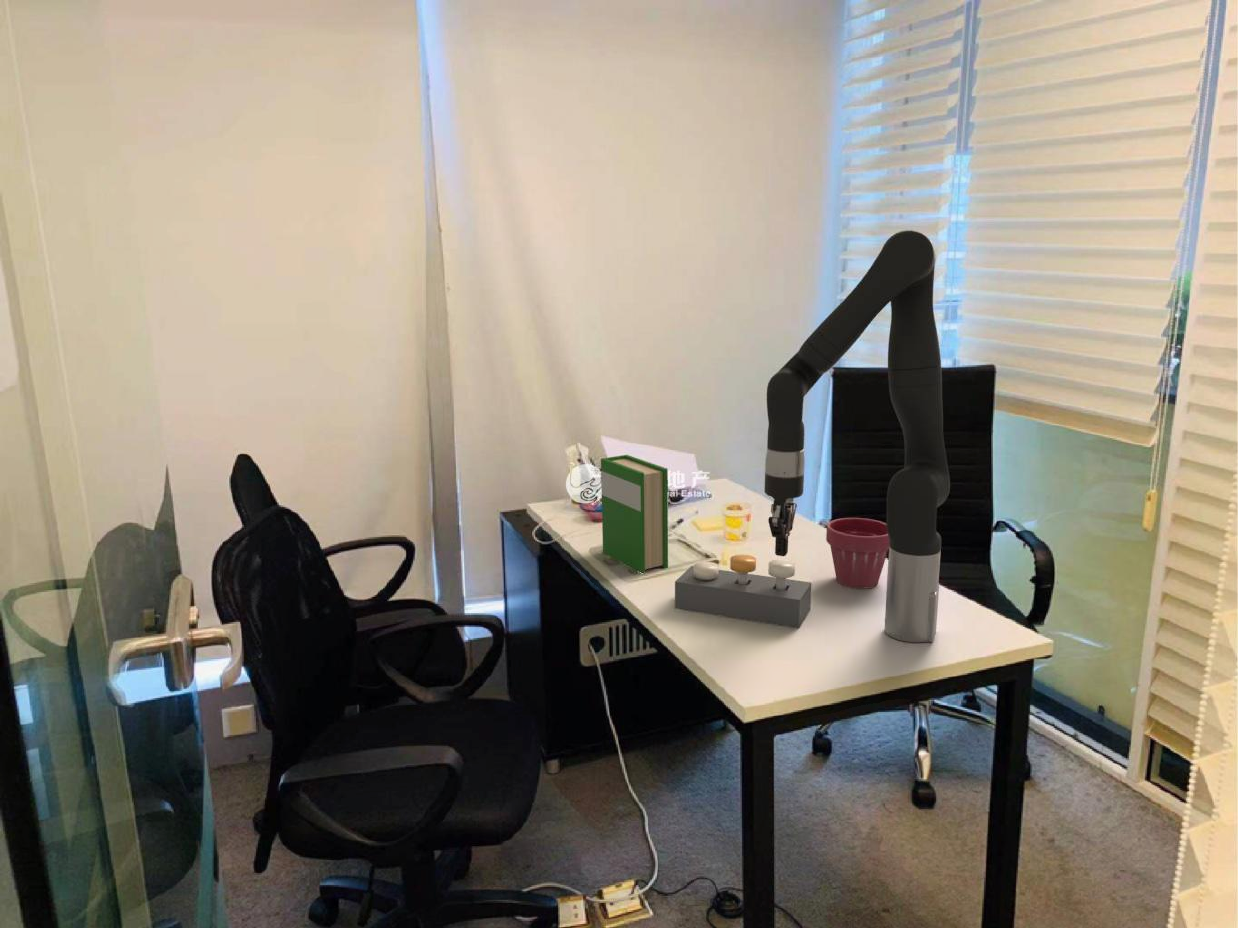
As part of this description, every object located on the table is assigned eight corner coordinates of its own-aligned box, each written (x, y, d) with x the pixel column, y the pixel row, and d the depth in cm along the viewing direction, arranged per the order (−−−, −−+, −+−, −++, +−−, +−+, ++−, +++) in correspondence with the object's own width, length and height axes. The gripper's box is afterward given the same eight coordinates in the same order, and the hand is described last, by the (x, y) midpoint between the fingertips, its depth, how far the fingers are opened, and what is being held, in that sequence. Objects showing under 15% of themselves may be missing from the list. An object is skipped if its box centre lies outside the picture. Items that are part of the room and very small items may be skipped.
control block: (810, 609, 181) (811, 582, 179) (798, 628, 172) (799, 599, 171) (691, 591, 191) (691, 565, 190) (675, 608, 183) (674, 581, 181)
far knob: (721, 594, 186) (721, 563, 184) (713, 603, 181) (713, 571, 180) (698, 591, 188) (698, 560, 186) (689, 600, 183) (689, 568, 182)
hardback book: (668, 567, 207) (667, 468, 201) (641, 574, 203) (640, 473, 197) (628, 547, 221) (626, 454, 216) (602, 552, 217) (600, 458, 212)
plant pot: (897, 576, 198) (900, 522, 195) (881, 597, 187) (884, 540, 184) (835, 566, 205) (837, 513, 202) (816, 585, 194) (818, 530, 191)
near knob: (796, 594, 179) (797, 561, 177) (790, 603, 174) (791, 569, 172) (771, 590, 181) (772, 558, 179) (764, 599, 176) (765, 566, 175)
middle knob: (758, 588, 182) (759, 556, 180) (751, 597, 177) (751, 564, 176) (734, 585, 184) (734, 553, 182) (726, 593, 180) (726, 561, 178)
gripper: (795, 481, 164) (791, 568, 168) (811, 465, 176) (807, 547, 180) (756, 477, 167) (753, 562, 171) (774, 461, 179) (771, 542, 183)
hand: (781, 554), depth 176 cm, fingers closed
